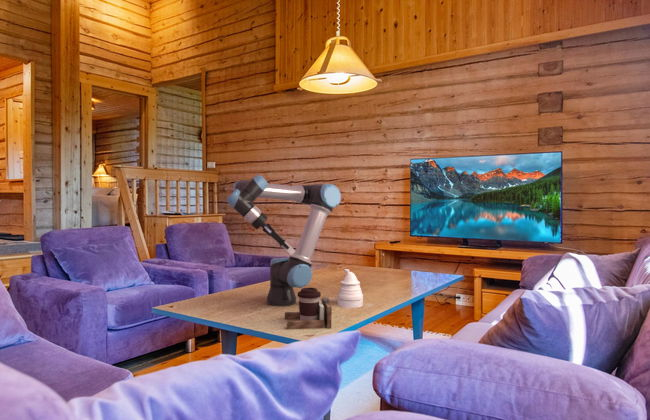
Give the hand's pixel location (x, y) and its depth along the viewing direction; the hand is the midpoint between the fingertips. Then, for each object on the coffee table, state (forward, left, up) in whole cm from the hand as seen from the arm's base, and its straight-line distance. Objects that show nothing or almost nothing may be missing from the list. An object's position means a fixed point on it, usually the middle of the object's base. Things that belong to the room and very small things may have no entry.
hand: (293, 253), depth 213 cm
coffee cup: (+14, -10, -29) cm, 33 cm away
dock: (+13, -10, -28) cm, 33 cm away
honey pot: (+16, +30, -29) cm, 45 cm away
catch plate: (+18, -7, -28) cm, 34 cm away
